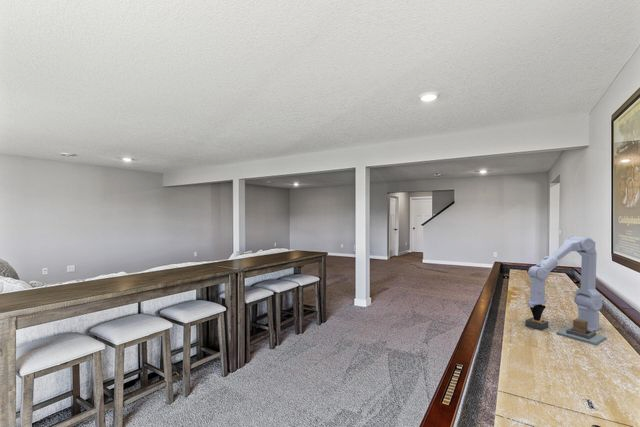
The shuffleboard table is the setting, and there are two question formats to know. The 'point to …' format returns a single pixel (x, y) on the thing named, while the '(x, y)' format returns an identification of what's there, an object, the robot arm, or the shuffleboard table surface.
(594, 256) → the robot arm
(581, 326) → the block
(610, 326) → the shuffleboard table surface
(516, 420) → the shuffleboard table surface
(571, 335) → the board
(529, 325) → the control box
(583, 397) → the shuffleboard table surface
